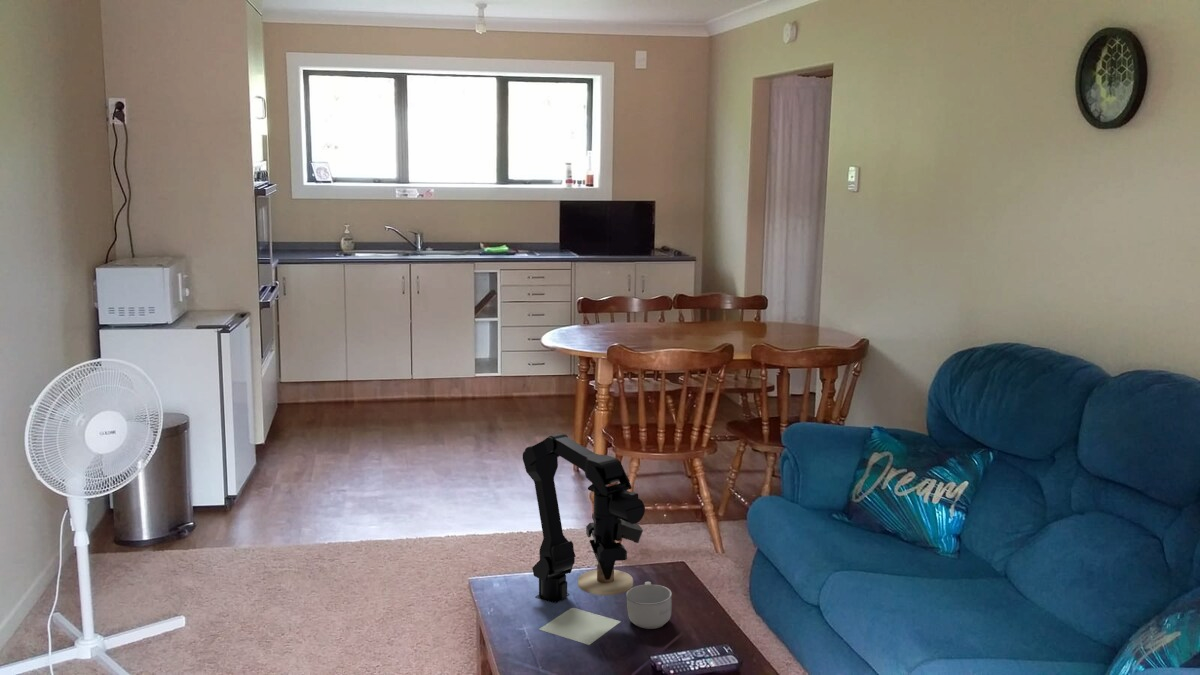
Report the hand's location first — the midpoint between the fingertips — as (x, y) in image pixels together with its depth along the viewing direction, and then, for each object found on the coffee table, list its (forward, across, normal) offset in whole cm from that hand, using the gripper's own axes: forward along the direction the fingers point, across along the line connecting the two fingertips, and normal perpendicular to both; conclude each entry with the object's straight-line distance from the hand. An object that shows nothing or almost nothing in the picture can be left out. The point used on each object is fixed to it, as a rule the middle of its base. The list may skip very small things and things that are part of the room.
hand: (605, 575), depth 230 cm
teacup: (+13, +1, -11) cm, 17 cm away
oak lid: (+2, 0, 0) cm, 2 cm away
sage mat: (+12, 0, +6) cm, 14 cm away
